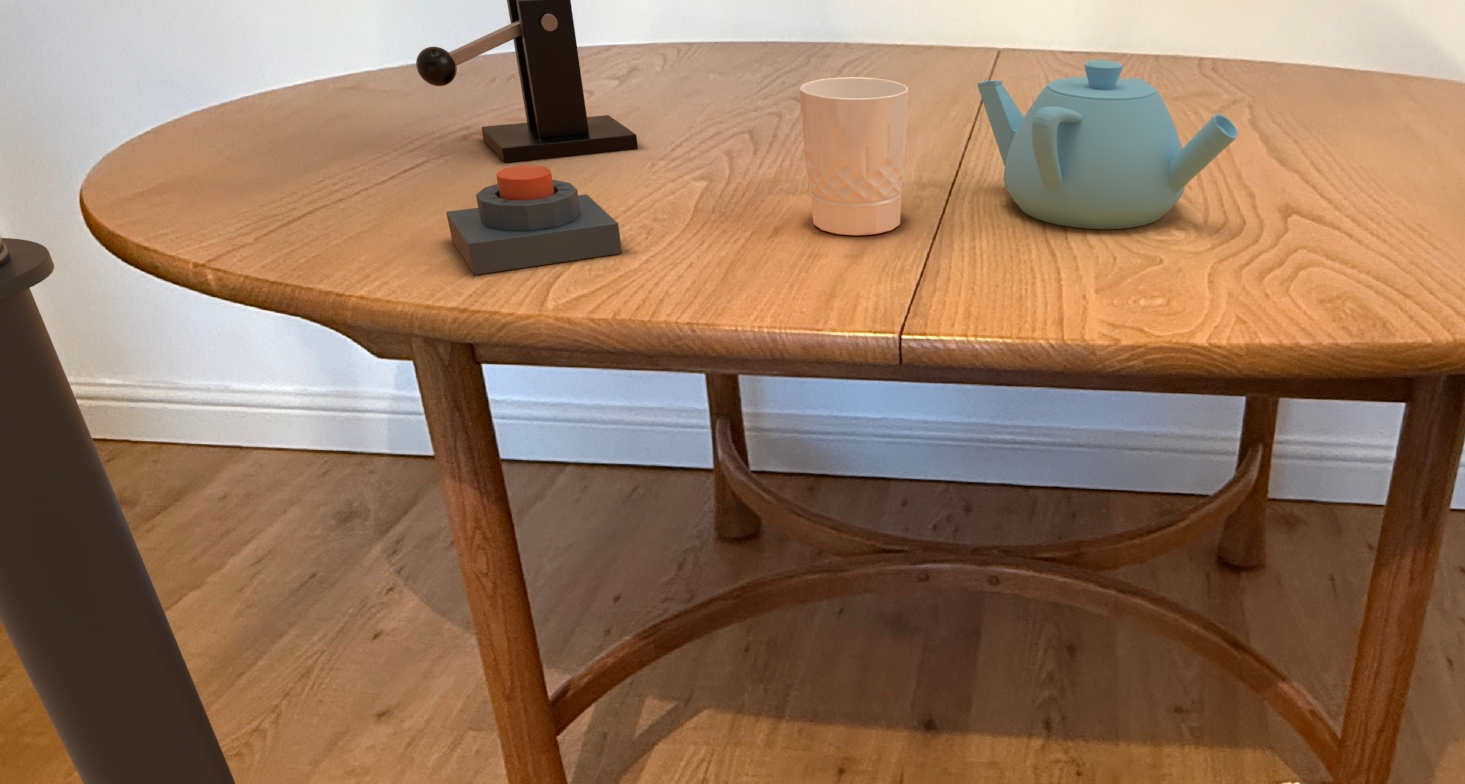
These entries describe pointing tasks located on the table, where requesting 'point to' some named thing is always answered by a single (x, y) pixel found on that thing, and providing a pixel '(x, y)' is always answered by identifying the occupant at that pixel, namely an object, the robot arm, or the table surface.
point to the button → (525, 183)
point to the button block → (532, 230)
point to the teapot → (1098, 149)
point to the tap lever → (460, 55)
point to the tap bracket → (552, 92)
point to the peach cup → (855, 152)
